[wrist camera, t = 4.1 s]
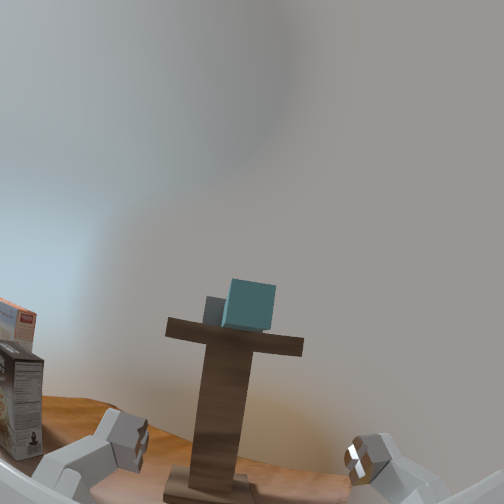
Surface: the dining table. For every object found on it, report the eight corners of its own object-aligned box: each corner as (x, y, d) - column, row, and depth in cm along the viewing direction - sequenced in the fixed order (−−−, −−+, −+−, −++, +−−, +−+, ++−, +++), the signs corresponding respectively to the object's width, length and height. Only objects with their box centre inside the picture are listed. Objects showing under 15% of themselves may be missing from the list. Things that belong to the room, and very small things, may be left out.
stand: (266, 531, 20) (304, 338, 28) (148, 518, 19) (168, 317, 27) (251, 482, 35) (275, 337, 42) (166, 470, 34) (184, 323, 41)
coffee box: (-16, 431, 19) (-17, 335, 24) (11, 428, 25) (13, 340, 30) (17, 462, 18) (13, 357, 22) (45, 454, 24) (46, 359, 29)
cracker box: (30, 412, 35) (38, 313, 41) (10, 414, 29) (17, 307, 35) (-4, 385, 36) (4, 298, 43) (-23, 384, 31) (-15, 291, 37)
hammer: (306, 333, 18) (312, 276, 20) (187, 316, 18) (198, 257, 19) (258, 334, 39) (262, 307, 41) (203, 326, 39) (207, 298, 40)
